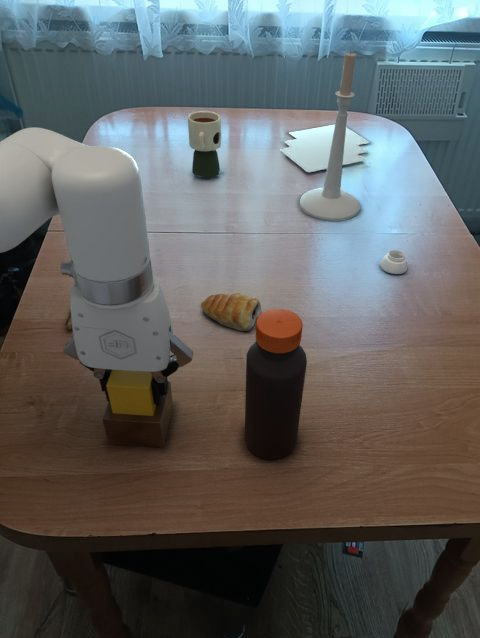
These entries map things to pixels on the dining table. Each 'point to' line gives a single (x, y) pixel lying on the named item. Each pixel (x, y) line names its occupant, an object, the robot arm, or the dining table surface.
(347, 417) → the dining table surface
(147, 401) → the mustard block
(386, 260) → the white jar
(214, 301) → the pastry
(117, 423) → the walnut block
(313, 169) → the paper stack
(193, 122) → the character mug
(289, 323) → the bottle
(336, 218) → the candlestick
